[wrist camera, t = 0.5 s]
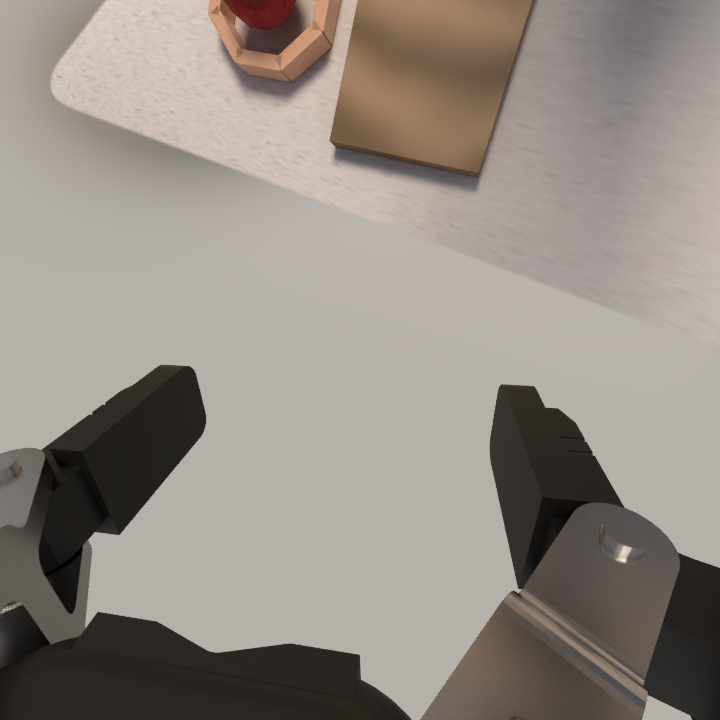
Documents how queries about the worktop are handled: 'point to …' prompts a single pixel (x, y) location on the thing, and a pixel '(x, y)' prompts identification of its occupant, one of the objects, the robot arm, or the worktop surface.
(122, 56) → the worktop surface
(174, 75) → the worktop surface
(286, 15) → the onion
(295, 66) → the ring holder
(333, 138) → the walnut board
